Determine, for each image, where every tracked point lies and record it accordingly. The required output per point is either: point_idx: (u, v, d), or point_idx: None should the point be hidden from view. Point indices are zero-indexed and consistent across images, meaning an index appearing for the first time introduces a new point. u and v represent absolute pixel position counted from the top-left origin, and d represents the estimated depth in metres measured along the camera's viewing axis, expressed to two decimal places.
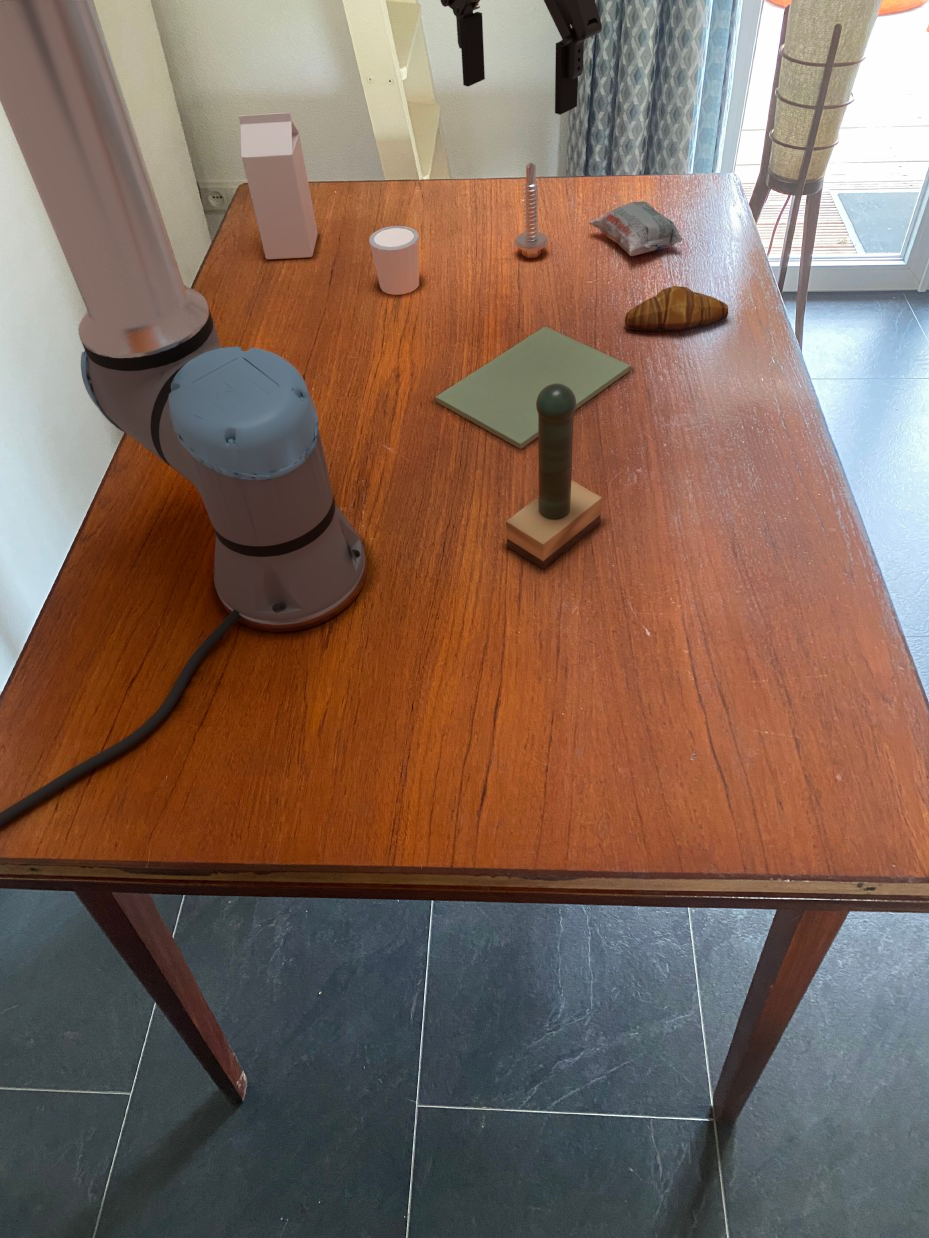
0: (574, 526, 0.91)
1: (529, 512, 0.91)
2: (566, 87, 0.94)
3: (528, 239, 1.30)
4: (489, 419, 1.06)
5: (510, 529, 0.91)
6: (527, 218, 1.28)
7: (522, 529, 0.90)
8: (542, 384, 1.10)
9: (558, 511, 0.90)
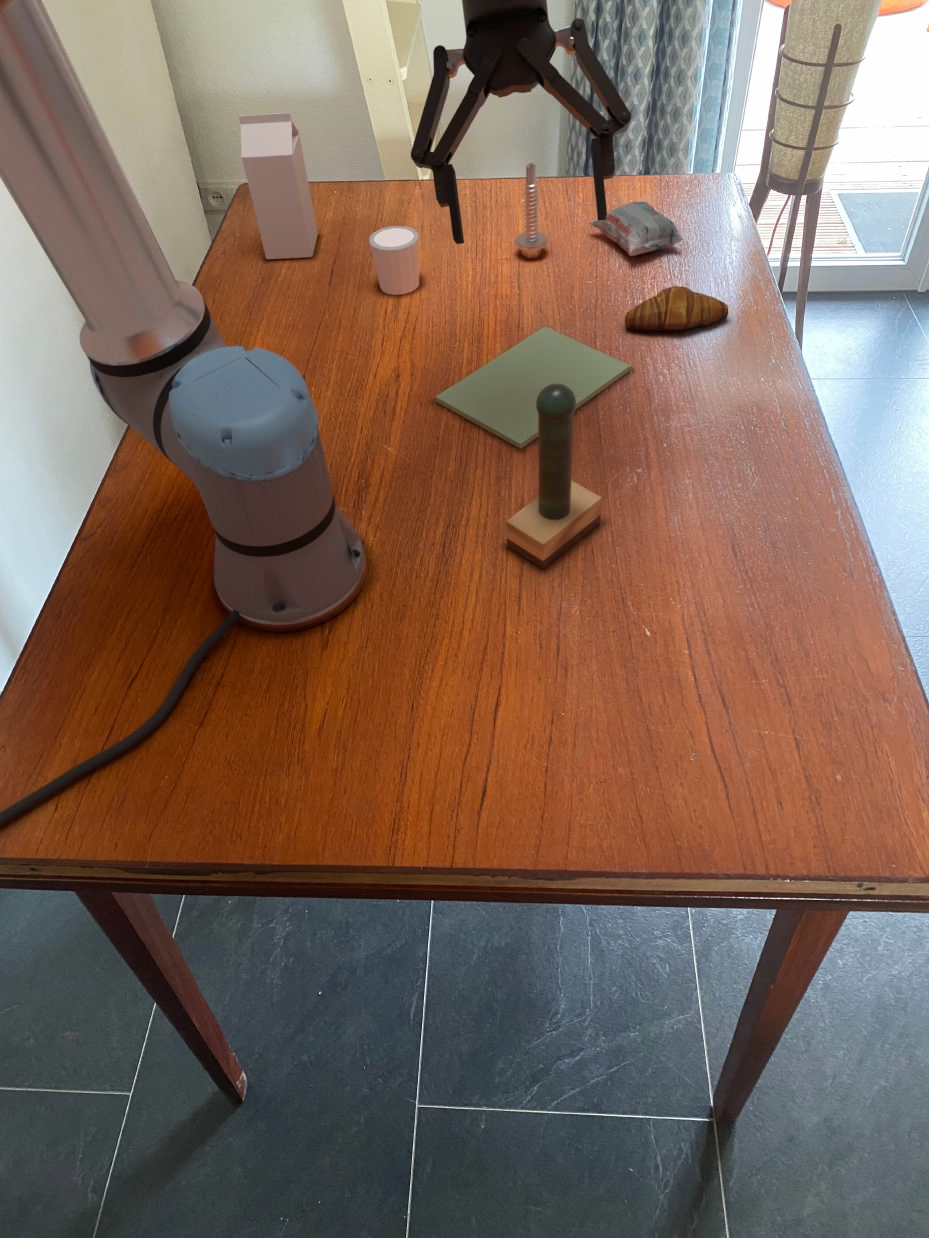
0: (574, 526, 0.91)
1: (529, 512, 0.91)
2: None
3: (528, 239, 1.30)
4: (489, 419, 1.06)
5: (510, 529, 0.91)
6: (527, 218, 1.28)
7: (522, 529, 0.90)
8: (542, 384, 1.10)
9: (558, 511, 0.90)
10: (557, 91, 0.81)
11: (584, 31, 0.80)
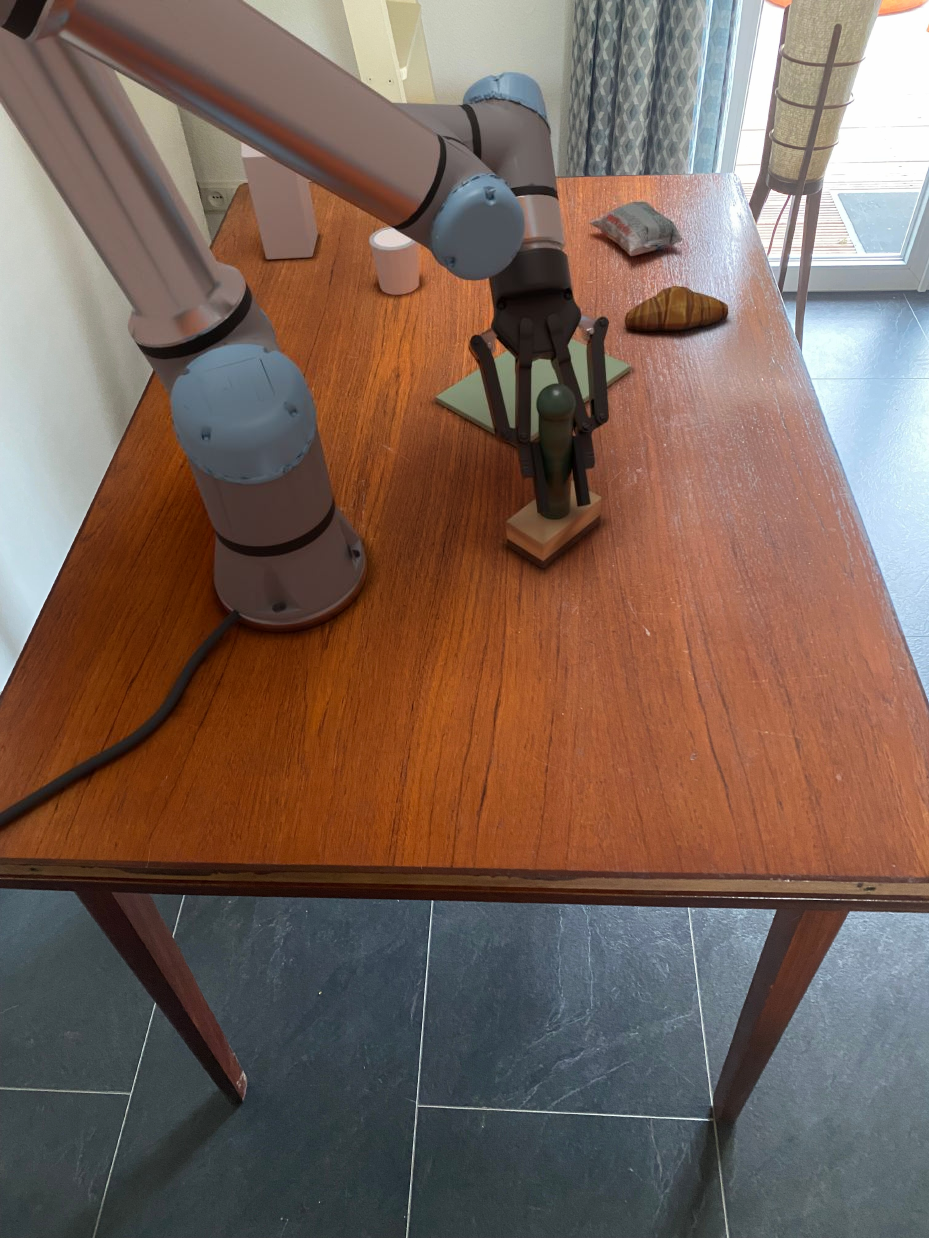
0: (574, 526, 0.91)
1: (529, 512, 0.91)
2: None
3: None
4: (489, 419, 1.06)
5: (510, 529, 0.91)
6: None
7: (522, 529, 0.90)
8: (542, 384, 1.10)
9: (558, 511, 0.90)
10: (562, 373, 0.84)
11: (605, 330, 0.84)
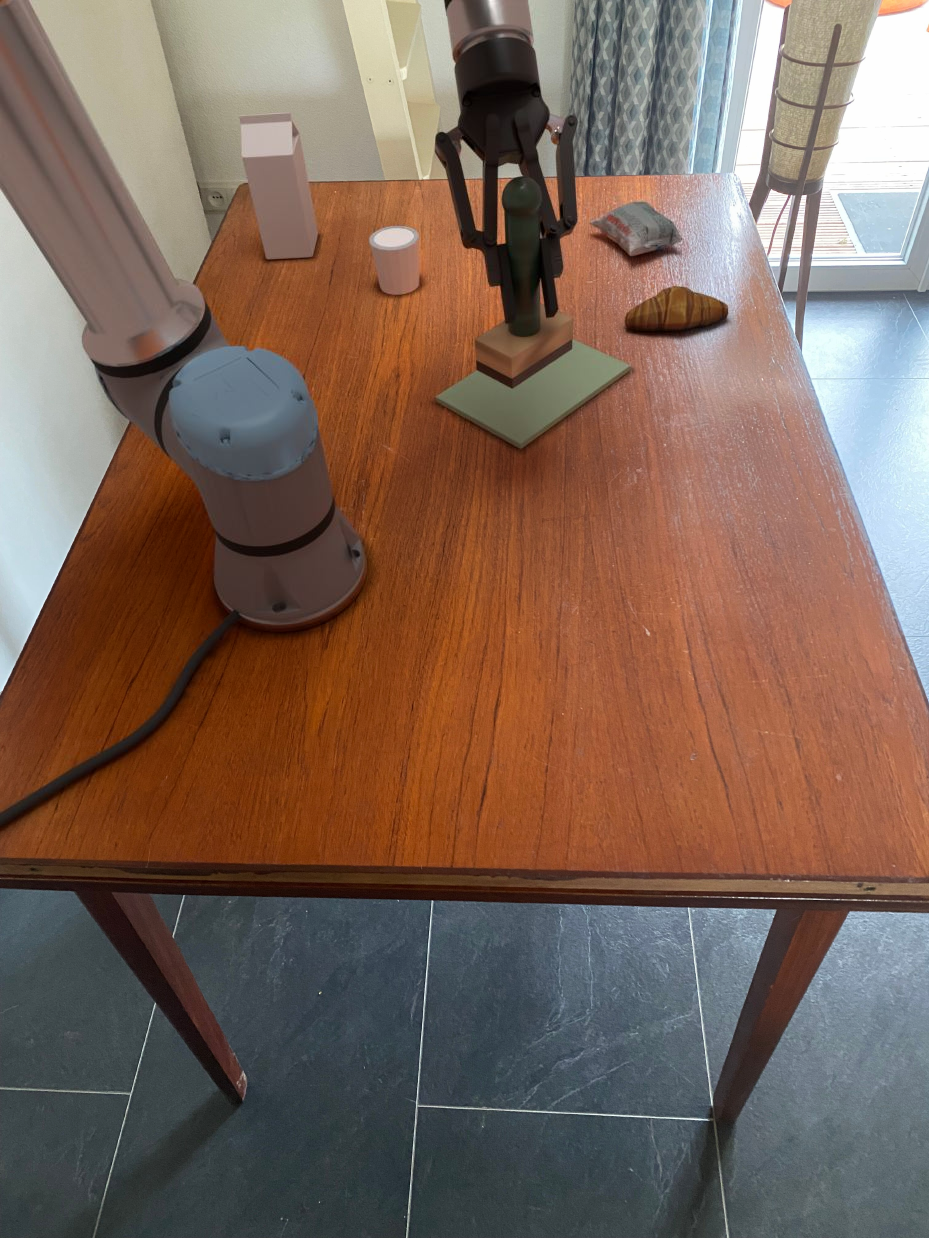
0: (544, 345, 0.89)
1: (498, 331, 0.89)
2: None
3: None
4: (489, 419, 1.06)
5: (479, 348, 0.89)
6: None
7: (490, 345, 0.88)
8: (542, 384, 1.10)
9: (527, 326, 0.88)
10: (529, 173, 0.82)
11: (574, 129, 0.82)
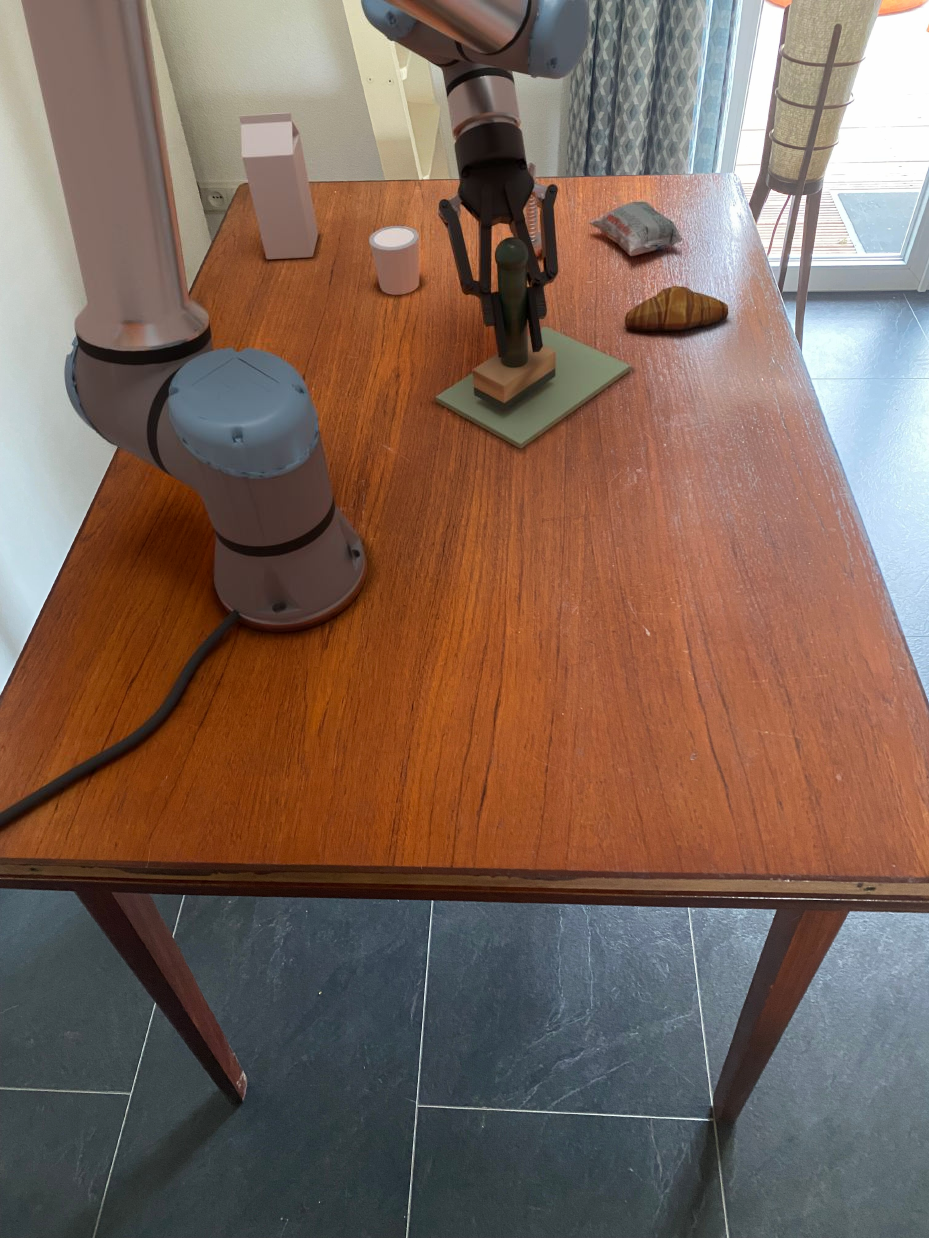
0: (531, 374, 1.05)
1: (492, 362, 1.06)
2: None
3: None
4: (489, 419, 1.06)
5: (476, 377, 1.05)
6: (527, 218, 1.28)
7: (485, 375, 1.04)
8: None
9: (517, 359, 1.04)
10: (517, 233, 0.99)
11: (555, 196, 0.98)
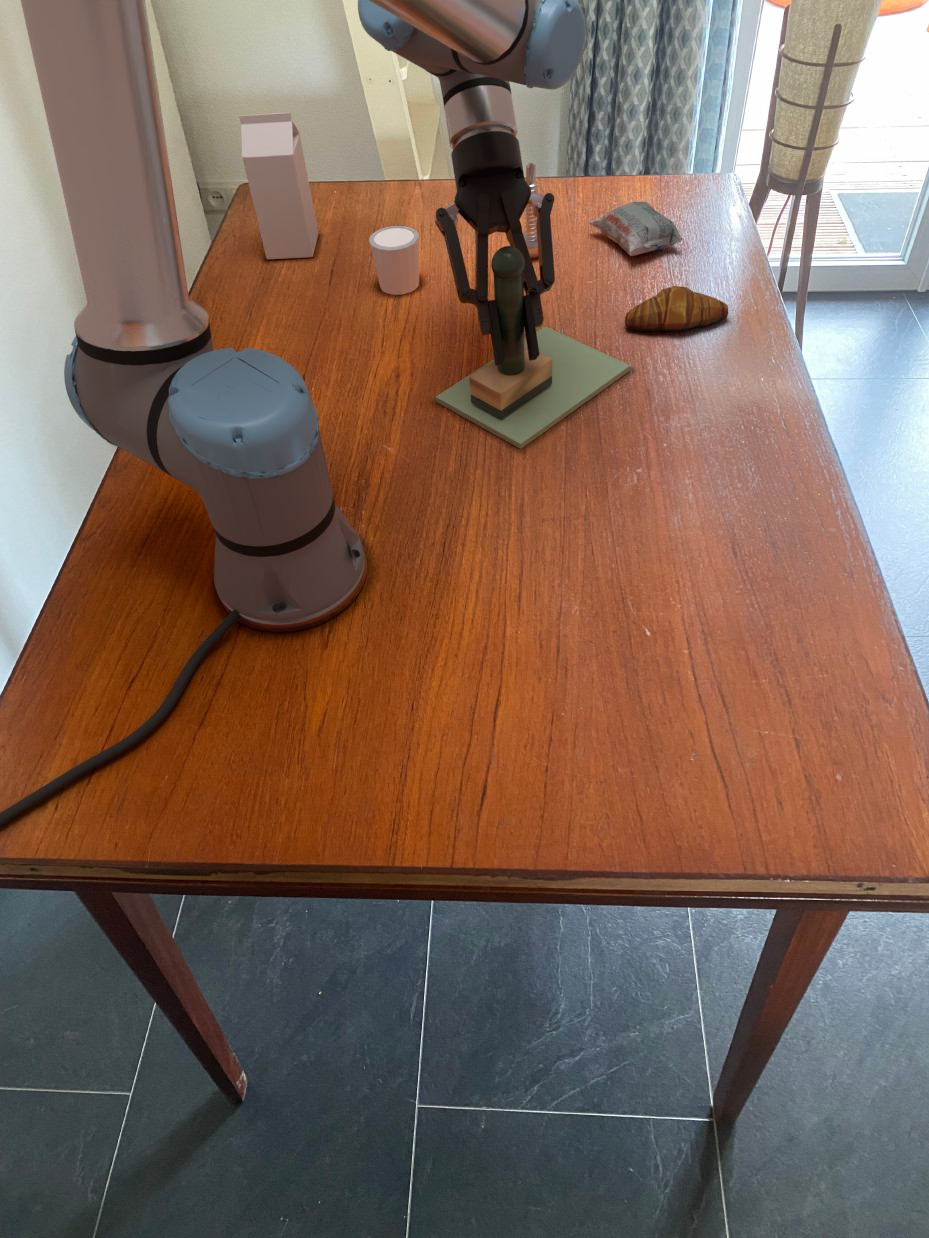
0: (528, 382, 1.06)
1: (489, 370, 1.06)
2: None
3: (528, 239, 1.30)
4: (489, 419, 1.06)
5: (473, 384, 1.06)
6: (527, 218, 1.28)
7: (482, 382, 1.04)
8: None
9: (513, 367, 1.04)
10: (514, 241, 0.99)
11: (551, 205, 0.99)
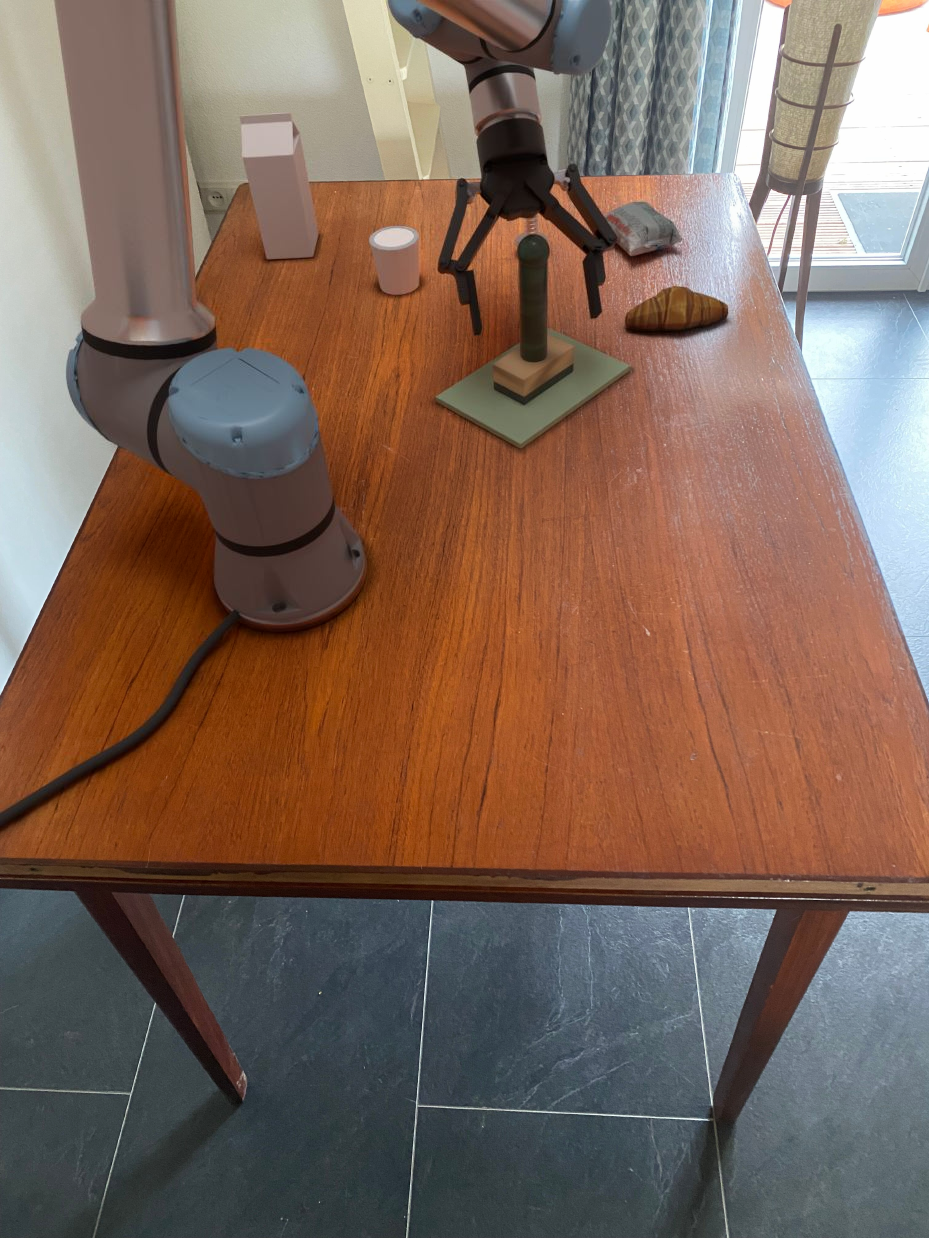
0: (550, 369, 1.08)
1: (512, 357, 1.08)
2: None
3: None
4: (489, 419, 1.06)
5: (496, 371, 1.08)
6: None
7: (506, 369, 1.06)
8: None
9: (536, 354, 1.06)
10: (558, 217, 1.00)
11: (577, 173, 1.00)
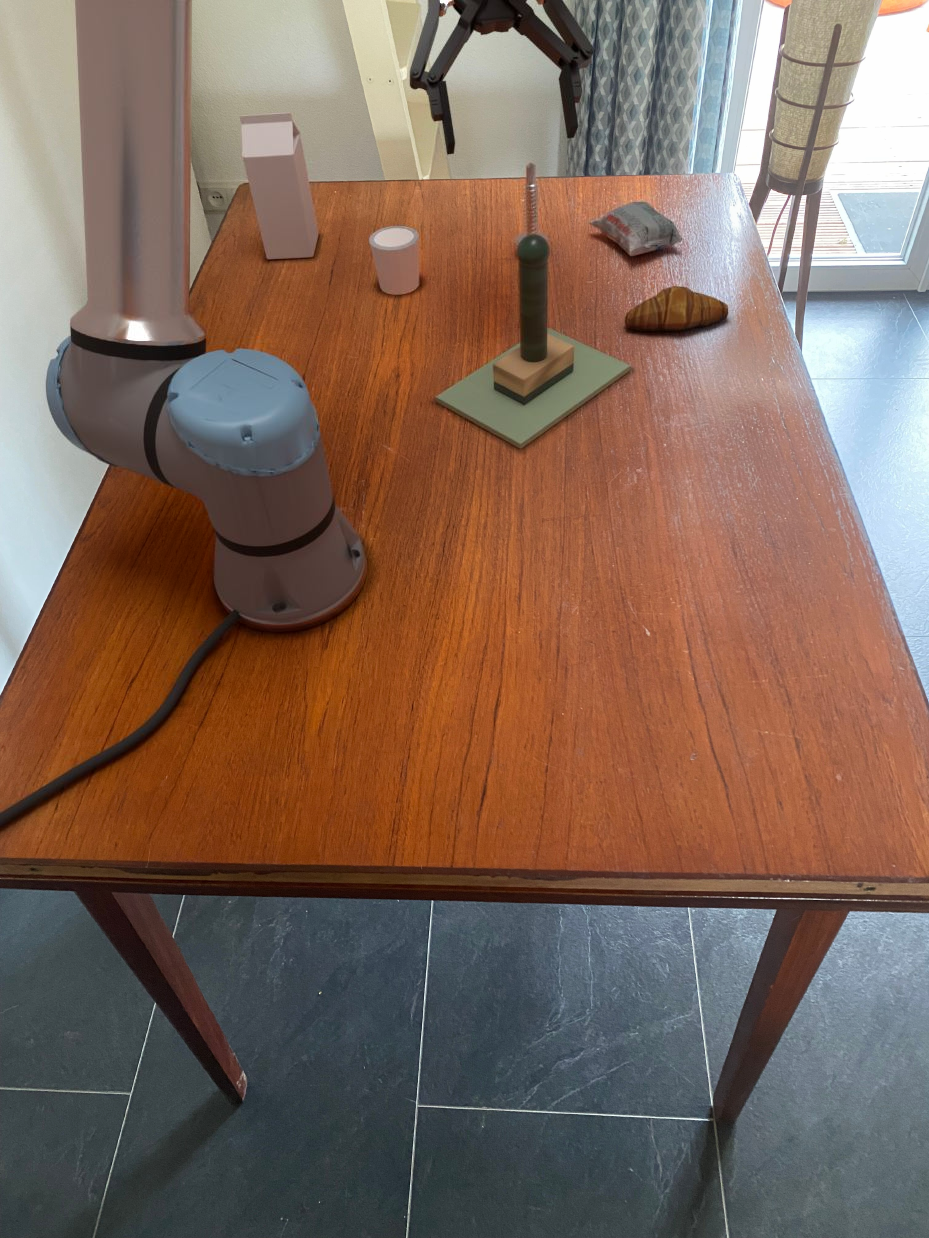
0: (550, 369, 1.08)
1: (512, 357, 1.08)
2: None
3: None
4: (489, 419, 1.06)
5: (496, 371, 1.08)
6: (527, 218, 1.28)
7: (506, 369, 1.06)
8: None
9: (536, 354, 1.06)
10: (533, 27, 0.98)
11: None
